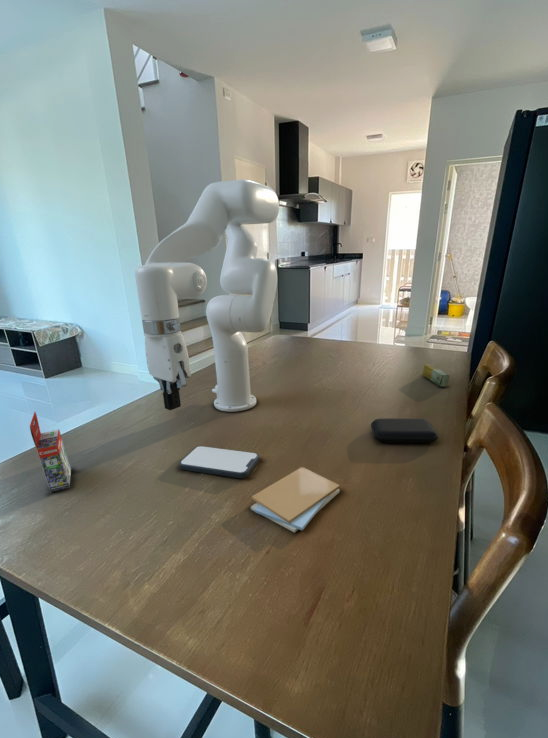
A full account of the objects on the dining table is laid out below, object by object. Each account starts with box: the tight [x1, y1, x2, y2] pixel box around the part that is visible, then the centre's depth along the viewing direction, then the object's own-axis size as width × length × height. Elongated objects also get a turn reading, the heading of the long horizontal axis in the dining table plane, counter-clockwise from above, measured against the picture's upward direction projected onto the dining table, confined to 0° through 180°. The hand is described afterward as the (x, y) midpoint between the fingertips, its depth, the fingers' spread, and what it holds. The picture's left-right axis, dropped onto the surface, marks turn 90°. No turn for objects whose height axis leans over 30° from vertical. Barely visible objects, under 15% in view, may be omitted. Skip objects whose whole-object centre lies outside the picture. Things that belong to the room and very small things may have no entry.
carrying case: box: [370, 417, 439, 444], centre depth 93 cm, size 11×3×15 cm
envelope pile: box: [250, 466, 341, 534], centre depth 70 cm, size 12×15×2 cm
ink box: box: [29, 411, 72, 493], centre depth 76 cm, size 4×8×15 cm, turn 26°
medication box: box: [421, 363, 451, 388], centre depth 127 cm, size 12×3×4 cm, turn 10°
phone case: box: [178, 445, 261, 479], centre depth 83 cm, size 9×2×16 cm
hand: (173, 407), depth 87 cm, fingers closed
